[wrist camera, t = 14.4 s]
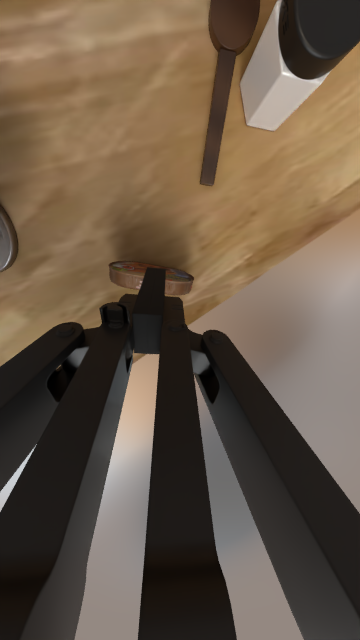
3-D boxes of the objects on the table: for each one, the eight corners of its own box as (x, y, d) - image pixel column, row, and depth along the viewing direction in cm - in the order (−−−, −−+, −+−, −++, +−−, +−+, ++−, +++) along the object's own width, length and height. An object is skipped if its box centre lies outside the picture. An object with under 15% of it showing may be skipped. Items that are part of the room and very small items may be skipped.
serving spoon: (223, 188, 29) (225, 186, 28) (188, 182, 29) (189, 180, 28) (262, -14, 21) (267, -28, 20) (214, -29, 20) (216, -44, 19)
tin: (191, 271, 35) (197, 281, 28) (188, 286, 37) (193, 299, 29) (116, 258, 33) (101, 264, 26) (116, 274, 35) (101, 285, 27)
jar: (275, 21, 22) (377, -186, 11) (311, 82, 24) (422, -40, 14) (227, 100, 25) (270, -3, 14) (263, 147, 27) (323, 90, 17)
